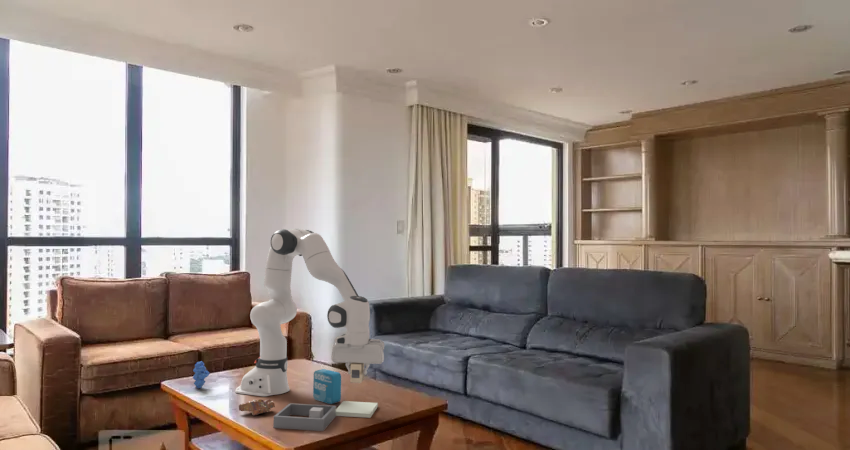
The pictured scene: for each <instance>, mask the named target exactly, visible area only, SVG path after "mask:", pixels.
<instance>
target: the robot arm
mask: <svg viewBox="0 0 850 450" xmlns="http://www.w3.org/2000/svg"><path fill="white" fill-rule="evenodd" d="M296 256H299V257H302V258H303V261H304V263H305V266H306V268H307V270H308V273H309V274H310V275H311V276H312V278H314V279H317V280H319V281H323V282H326V283H329V284H331V285H333V286H334V287H336V289H337V291H338V292H339V293H340V295H341V297H342V299H343V301H342V302H338V303H336V304H332V305H331V306H330V307H329V308H328V310H327V314H326V315H327V316H326V317H327V321H328V323H329V325H330V326H331V327H332V328H335V329H343V328H346V333H343V334H342V335H341V334H340V335H338V336H337V337H335V338H334V345H333V346H332V349H331V358H330V359H331V361H332V362H333V363H345V367H346V369H347V371H348V372H347V373H348V375H351V364H352V363H364V369H363V370H362V375H364V376H367V373H368V371H367V370H368V369H369V367H370V364H371V365H372V364H373V365H382V364H383V363H384V361H385V353H384V350H385V342H384V341H383V340H381V339H378V338H377V339H376V338H370V331H371V330H370V326H369V324H370V320H371V319H370V318H371V310H370V303H369V300H368V299H367V298H366V297H364V296H360V295H358V293H357V291H356V289H355V287H354V285H353V284H352V282H351V280H350V279H349V277H348V275H347V273H346V272H345V271H344V270H343V268H341V266H339V264H338V263H337V261H336V260H335V259H334V257H333V255H332V253H331V251H330V248H329V247H328V244H327V243H326V241H325V240H324V238H323V237H322V235H321V234H320V233H317V232H314V231H312V230H310V229H301V228H300V229H299V228H294V229H284V228H283V229H282V228H281V229H278V230H276V231H274V232H273V234H272V235H271V237H270V247H269V250H268V253H267V257H266V260H265V261H266V262H265V267H264V268H265V271H264V280H263V285H264V288H265V289H266V290H267V293H268V300H266V301H262V302H260V303H258V304H256V305H254V306H252V309H251V310H250V312H249V313H250V314H249V317H250V321H251V324H252V325H253V326H255V327H256V330H257V333H258V337H259V357H258V358H257V359H255V360H254V364H255V366H254V367H253V368H252V369H250V370H249V371H248V372H246V373H245V374H244V375H243V377H242V379H241V382H240V385H239V386H237V387H236V388H235V390H234V393H235V394H241V395H249V396H250V395H251V396H256V397H257V396H258V397H269V396H273V395H275V396H276V395H281V394H284V393H287V392H289V391H290V390H291V389H290V387H289V381H288V375H287V373H288V372H287V371H288V356H287V346H288V345H287V343H288V342H287V341H288V340H287V337H285V336H284V334H283V332H282V326H281V325H283V324H286V323H289V322H290V321H292V320H294V318H295V317H296V316H297V313H298V307H297V304H296V303H295V302H294V300H293V296H292V290H291V285H292V284H291V283H292V282H291V281H292V271H293V260H294V258H295V257H296Z"/></svg>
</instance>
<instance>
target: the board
mask: <svg viewBox="0 0 850 450" xmlns="http://www.w3.org/2000/svg"><path fill="white" fill-rule="evenodd" d="M378 406H379V403H378V402H369V401H365V402H364V401H349V400H343V401H342V402H341V403H340V404H339V405H338V407H336V417H350V418H353V417H354V418H368V419H370V418H371V417H372V416H373V415H374V413H375V411H376V410H377V408H378Z"/></svg>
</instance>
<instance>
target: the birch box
mask: <svg viewBox="0 0 850 450" xmlns="http://www.w3.org/2000/svg"><path fill="white" fill-rule="evenodd" d="M350 368H351V374H349V375H350V377H349V378H350V381H349V382H350V384H362V382H363V381H364V380H365V375H362V370H363V369H365V363H350Z"/></svg>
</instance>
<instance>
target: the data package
mask: <svg viewBox="0 0 850 450" xmlns="http://www.w3.org/2000/svg"><path fill="white" fill-rule="evenodd" d="M312 386H313V389H312V394H313V395H312V397H313V399H314V400H315V401H319V402H322V403H324V404H328V405H334V404H336V403H340V402H341V400H342V399H341V398H342V375H341V373H340V372H339V371H334V370H330V369H327V368H326V369H325V368H321V369H317V370H315V371H314V372H313V385H312Z"/></svg>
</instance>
